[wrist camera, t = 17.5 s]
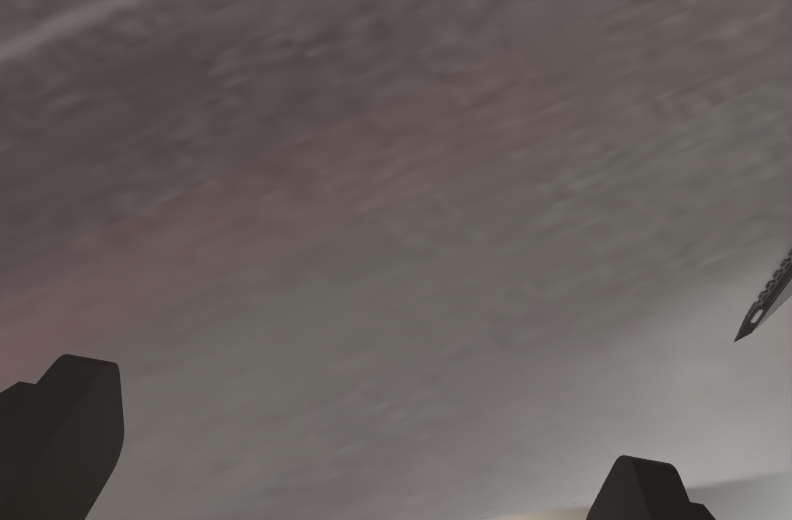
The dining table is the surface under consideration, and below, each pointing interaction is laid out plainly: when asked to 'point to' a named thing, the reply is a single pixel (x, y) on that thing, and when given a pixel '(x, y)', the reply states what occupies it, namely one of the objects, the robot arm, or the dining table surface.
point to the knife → (769, 298)
